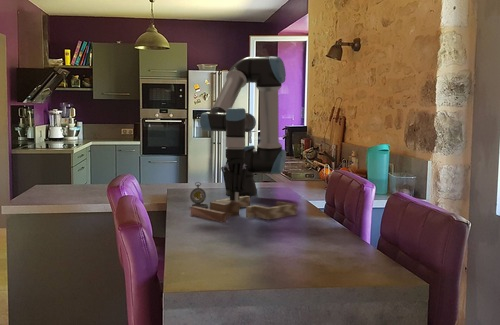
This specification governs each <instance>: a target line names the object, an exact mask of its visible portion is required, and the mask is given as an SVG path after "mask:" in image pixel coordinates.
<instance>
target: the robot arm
mask: <svg viewBox="0 0 500 325" xmlns="http://www.w3.org/2000/svg"><path fill="white" fill-rule="evenodd" d="M286 73H287V72H286V66H285V64H284V60H283V59H282V58H281V57H280V56H271V55H270V56H247V57H244V58H242V59H240V60H238V61H237V62H236V63H234V64H233V65H232V66H231V68H230V69H229V70H228V72H227V74H226V77H225V78H226V80H225V81H224V84H223V87H222V88H221V90H220V92H219V94H218V95H217V98H216V100H215V102H214V103H213V105H212V107H211V109H210V110H209V111H207V112H202V113H201V115H200V118H199V124H200V128H201V129H202V130H203V131H205V132H225V147H226V149H225V158H226V162H225V164H224V165H223V166H221V167H220V170H221V172H222V175H223V181H224V186H225V194H226V195H227V196H229V198H230V200H231V201H234V202H238V200H239V197H242V196H250V197H254V196H257V195H258V188H257V185H256V181H255V174H265V175H280V174H282V172H283V171H284V169H285V165H286V161H287V160H286V159H287V151H286V150H285V149H283V144H281V143H280V141H279V140H280V136H279V90H280V89H281V87H282V84H283V83H285V82H286V78H287V77H286ZM249 83H253V84H255V87H256V89H257V90H258V91H259V133H260V134H259V135H260V136H259V138H260V139H259V140H260V141H259V143H258V144H257V145H256V147H257V148H256V147H255V145H246V133H249V132H251V131H253V130H254V129H255V128H256V125H257V120H256V117H255V116H254V115H253V114H251V113H248V112H247V111H246V109H245V108H243V107H241V108H240V107H236V108H233V106H234V105H235V103H236V100H237V99H238V98H237V97H238V95H239V94H240V92H241V89H242V88H244V87H245V86H246V85H247V84H249Z"/></svg>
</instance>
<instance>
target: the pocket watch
mask: <svg viewBox="0 0 500 325" xmlns="http://www.w3.org/2000/svg"><path fill="white" fill-rule="evenodd" d="M194 185H195V186H196V188H194V189H192V190H191V191H190V194H189V198H190V200H191V202H192V203H193V204H191V207H193V206H196V207H201V208H205V209H207V208H208V206H209V204H207V203H203V202H205V200H206V198H207V195H206V191H205V190H204V189H202V188H201V187H200V186H201V185H202V182H199V181H196V182H194Z"/></svg>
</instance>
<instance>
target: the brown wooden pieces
mask: <svg viewBox="0 0 500 325" xmlns="http://www.w3.org/2000/svg"><path fill="white" fill-rule="evenodd" d="M221 200H229V201H231V200H230V197H228V198H223V199H215V200H214V201H221ZM238 202H239V208H244V207H245V217H246V218H259V219H264V220H273V219H275V220H276V219H279V218H285V217H290V216H294V215H295V216H296V215H298V214H297V213H298V211H297V210H298V204H297V203H291V202H288V201H287V202H285V201H276V206H270V207H267V206H262V205H258V204H257V205H256V204H253V205H251V196H239V200H238ZM190 215H192V216H195V217H200V218H203V219H208V220H211V221H217V222H221V223H223V222H227V217H226V213H224V212H219V211H215V210H210V208H201V207H196V206H193V207H192V206H190Z"/></svg>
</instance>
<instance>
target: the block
mask: <svg viewBox="0 0 500 325" xmlns="http://www.w3.org/2000/svg"><path fill="white" fill-rule="evenodd" d="M220 200H221V199H220ZM209 209H210V210H215V211H219V212H224V213H226V218H230V217H236V216H240V207H239V202H234V201H229V200H221V201H215V200H214V201H209Z"/></svg>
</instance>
